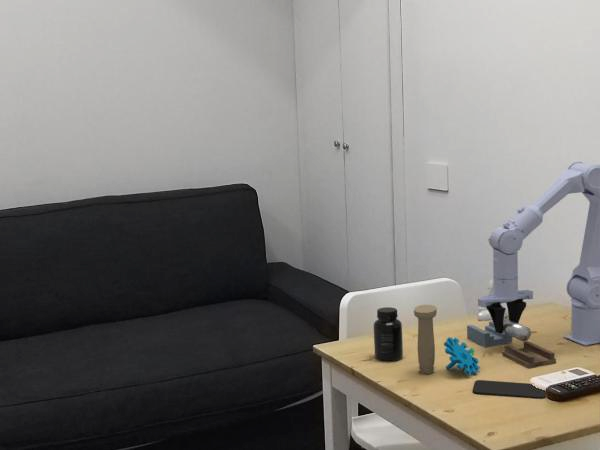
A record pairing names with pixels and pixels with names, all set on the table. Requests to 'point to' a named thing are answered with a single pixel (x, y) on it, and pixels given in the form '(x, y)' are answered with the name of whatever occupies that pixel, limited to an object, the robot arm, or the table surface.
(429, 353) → the handle
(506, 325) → the axle
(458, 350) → the gear
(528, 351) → the brown channel tray
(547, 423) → the table surface
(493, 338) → the v block
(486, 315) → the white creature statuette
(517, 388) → the phone
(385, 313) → the supplement bottle
